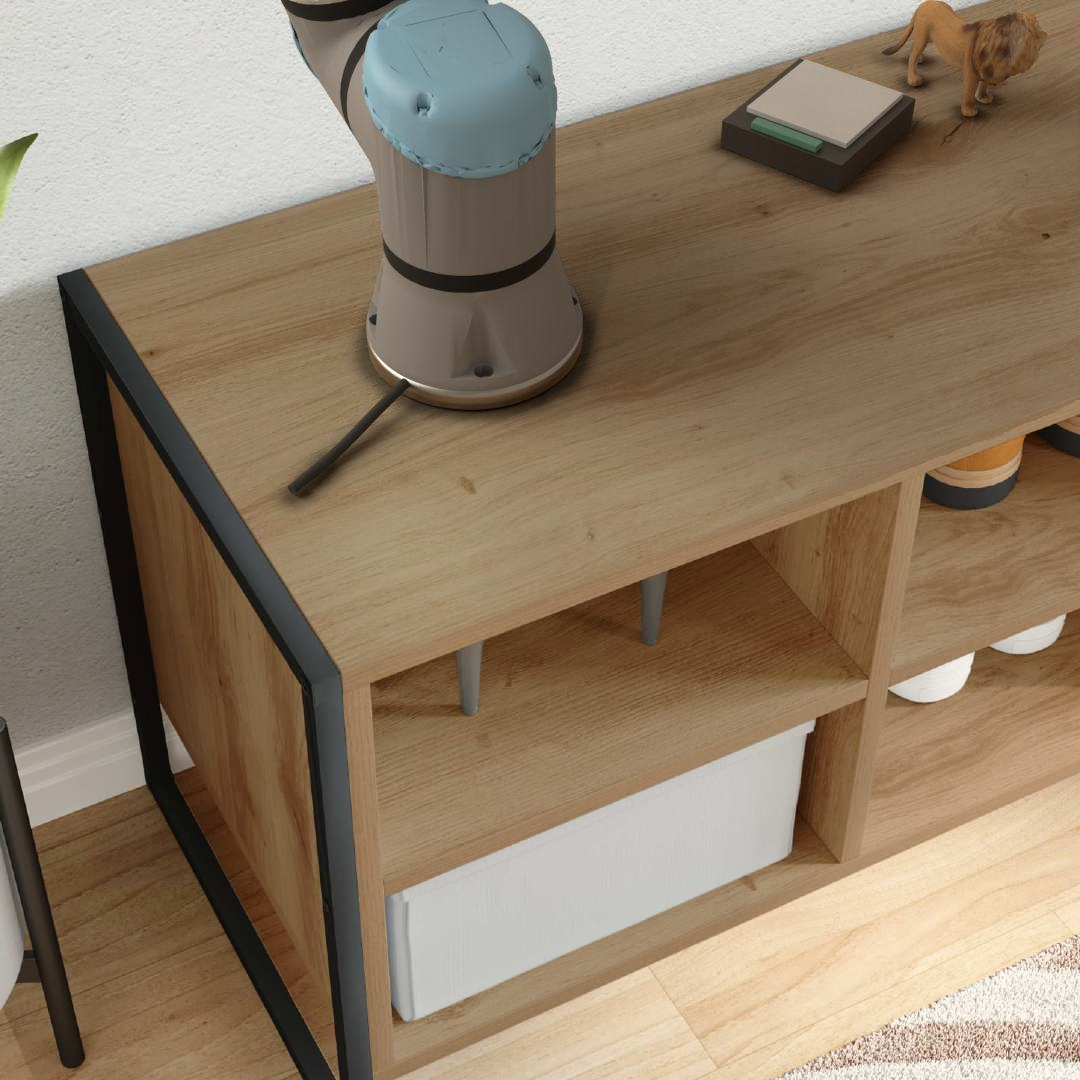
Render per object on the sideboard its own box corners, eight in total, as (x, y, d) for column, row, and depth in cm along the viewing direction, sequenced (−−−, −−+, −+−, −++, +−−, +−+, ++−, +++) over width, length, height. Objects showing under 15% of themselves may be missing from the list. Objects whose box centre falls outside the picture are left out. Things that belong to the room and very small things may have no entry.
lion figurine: (1040, 111, 131) (1065, 10, 125) (1003, 135, 129) (1026, 34, 122) (898, 47, 139) (914, -51, 132) (860, 70, 136) (875, -29, 130)
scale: (837, 192, 124) (842, 158, 121) (720, 147, 128) (722, 113, 126) (911, 125, 130) (917, 92, 128) (796, 84, 135) (800, 51, 133)
